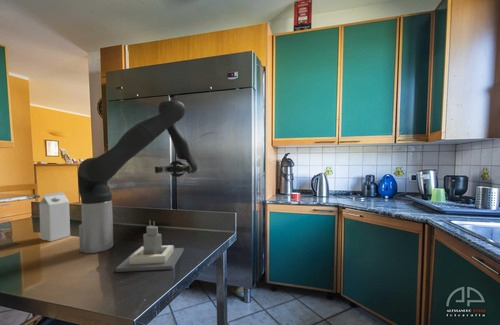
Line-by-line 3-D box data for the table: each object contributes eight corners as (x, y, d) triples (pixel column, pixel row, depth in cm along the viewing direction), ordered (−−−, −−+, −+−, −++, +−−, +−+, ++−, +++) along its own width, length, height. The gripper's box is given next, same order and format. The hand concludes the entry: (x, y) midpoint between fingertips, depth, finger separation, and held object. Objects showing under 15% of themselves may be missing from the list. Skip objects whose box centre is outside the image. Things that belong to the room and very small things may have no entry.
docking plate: (115, 271, 63) (115, 261, 63) (136, 252, 76) (136, 244, 76) (172, 269, 64) (172, 258, 64) (183, 250, 77) (183, 242, 77)
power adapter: (151, 253, 73) (150, 217, 73) (162, 256, 71) (161, 219, 70) (142, 257, 70) (141, 219, 70) (154, 260, 68) (153, 221, 68)
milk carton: (40, 239, 92) (38, 194, 91) (60, 234, 98) (59, 191, 98) (50, 241, 89) (48, 194, 89) (70, 236, 95) (68, 192, 95)
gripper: (163, 160, 104) (149, 160, 88) (194, 160, 105) (186, 160, 88) (164, 176, 104) (150, 179, 88) (194, 176, 105) (186, 178, 88)
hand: (168, 169), depth 88 cm, fingers open, 8 cm apart
